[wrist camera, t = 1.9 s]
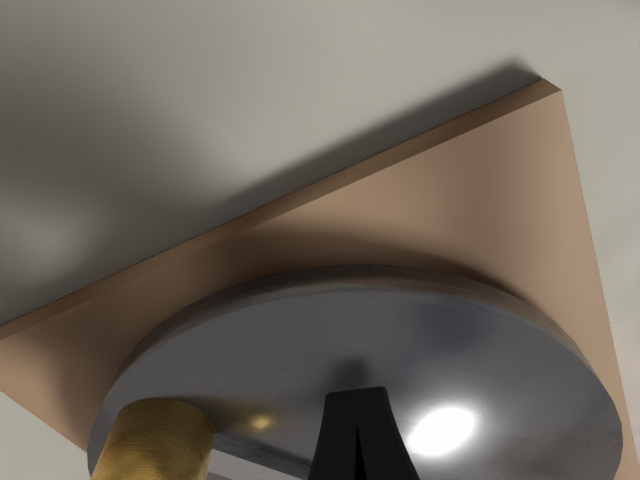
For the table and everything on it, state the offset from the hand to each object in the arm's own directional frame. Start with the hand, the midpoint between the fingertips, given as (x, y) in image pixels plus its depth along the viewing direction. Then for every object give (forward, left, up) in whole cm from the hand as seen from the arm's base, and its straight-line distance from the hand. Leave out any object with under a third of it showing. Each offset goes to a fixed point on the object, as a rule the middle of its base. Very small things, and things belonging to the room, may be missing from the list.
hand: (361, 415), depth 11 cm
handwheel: (+3, +6, -4) cm, 8 cm away
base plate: (+3, +6, -5) cm, 9 cm away
